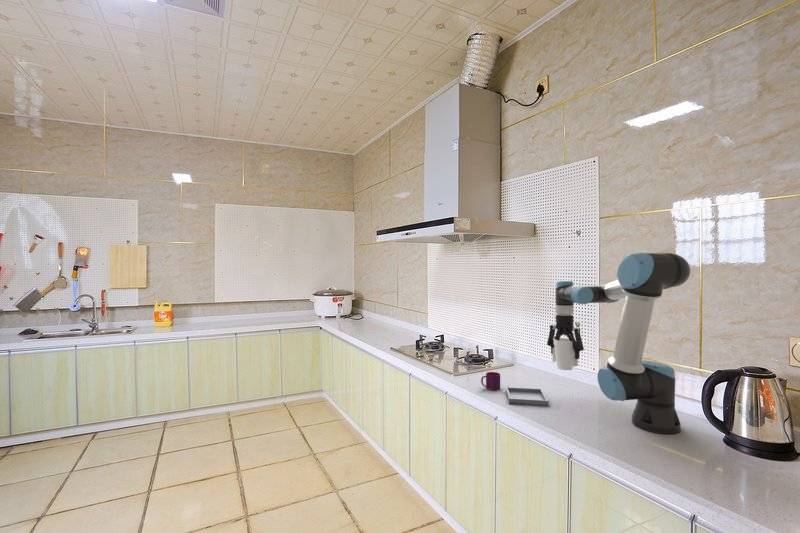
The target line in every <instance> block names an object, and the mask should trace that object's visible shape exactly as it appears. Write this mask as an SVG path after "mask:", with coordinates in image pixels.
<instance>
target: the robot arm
mask: <svg viewBox="0 0 800 533" xmlns="http://www.w3.org/2000/svg"><path fill="white" fill-rule="evenodd" d="M690 276H691V267H690V264H689V262H688V261H687V260H686V259H685V258H684V257H682V256H681V255H679V254H677V253H676V254H675V253H672V252H671V253H669V252H663V253H662V252H661V253H658V252H655V253H654V252H638V253H630V254H628V255H626V256H624V257H623V258H622V259H621V260H620V262H619V264H618V266H617V269H616V277H617V278H618V279H617V280H614V281H611V282H608V283H605V284H603V285H602V284H601V285H574V282H573V281H572V280H557V281H555V287H554V292H555V295H554V296H555V297H554V298H555V323H556V324H550V325H549V334H548V338H547V343H546V345H547V346H549V347H550V354H551V355H552V362H553V363H557V360H556V353H555V346H554V339H555V340H559V339H560V338H562V336H566V337H567V338H569V340H570V341H572V347H573V349H574V351H573V368H574V367H578V366H579V362H578V361H579V359H580V352H581V351H584V349H585V348H584V344H583V341H582V335H581V328H580V327H575V326H574V323H575V321H574V319H575V318H574V304H577V305H587V304H596V303H597V304H602V303H603V304H604V303H605V304H606V303H607V304H612V303H617V302H619V300H620V299H623V298H624V301H623V307H622V312H621V317H620V322H619V328H618V333H617V338H616V343H615V348H614V353H613V355H612V356H610V357H609V358H608V360H607V364H606V367H605V366H603V367H601V368H599V369H598V371H597V383H598V385H599V388H600V391H601V392H602V393H603V395H605V397H606V398H607V399H609V400H611V401H615V402H617V401H621V402H624V401H633V400H635V401H636V403H635V406H634V407H633V408H634V409H633V411H632V413H631V423H632V424H633V425H634V426H636V427H637V428H640V429H643V430H645V431H648V432H652V433H656V434H665V435H675V434H679V433H680V432H681V429H682V425H681V421H680V418H679V415H678V412H677V410H676V407H675V406H676V403H675V401H676V400H675V399H676V376H675V374H676V373H675V369H674V368H673V366H671V365H668V364H665V363H661V362H656V361H652V360H645V359H643V356H644V351H645V347H646V342H647V339H648V338H647V337H648V334H649V329H650V324H651V319H652V314H653V310H654V306H655V300H657V299H659V298H661V297H662V294H663V290H667V289H671V288H675V287H679V286H681V285H683V284H685V283H686V282H687V281H688V279H689V278H690ZM556 330H557V331H556ZM573 341H574V342H573Z"/></svg>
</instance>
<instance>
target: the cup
mask: <svg viewBox="0 0 800 533" xmlns="http://www.w3.org/2000/svg"><path fill="white" fill-rule="evenodd" d="M484 378H485V384H484V381H483V380H484ZM480 383H481V385H482V386H483V387H485V388H486V389H487V390H490V391H498V390H500V389H501V373H500V372H494V371H488V372H486V373H485V375H482V377H481V379H480Z"/></svg>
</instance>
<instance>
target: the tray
mask: <svg viewBox="0 0 800 533" xmlns="http://www.w3.org/2000/svg"><path fill="white" fill-rule="evenodd" d="M505 394H506V397H507V401H508V405H521V406H522V405H526V406H540V407H542V406H543V407H549V399H548V398H547V396H546V393H545V392H544V391H543V388H534V387H514V386H505Z"/></svg>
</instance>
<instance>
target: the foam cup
mask: <svg viewBox="0 0 800 533" xmlns="http://www.w3.org/2000/svg"><path fill="white" fill-rule="evenodd" d="M553 340H554V346H555V353H556V360H557V362H556V367H557V369H559V370H562V371H572V370H573V369H574V366H573V351H574V349H573V347H572V341H570V340H569V338H568V337H567V338H566V337H560V339H559V340H555V339H553ZM573 342H574V341H573Z"/></svg>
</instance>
